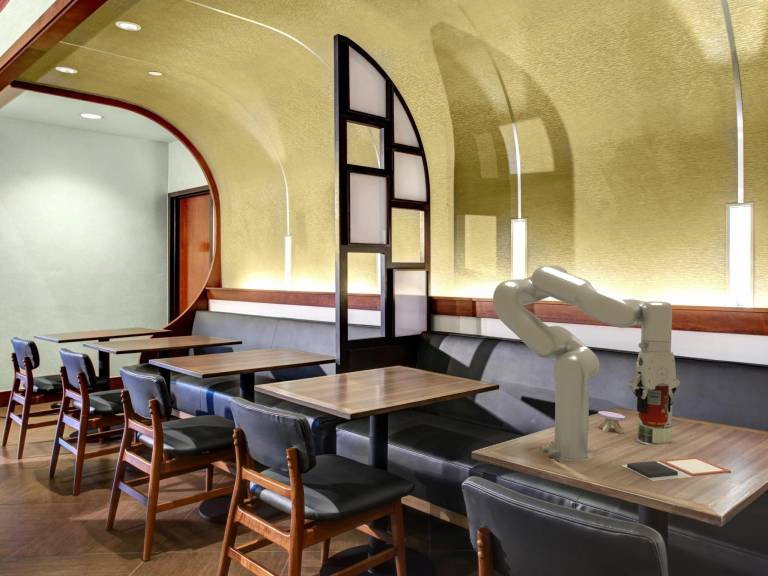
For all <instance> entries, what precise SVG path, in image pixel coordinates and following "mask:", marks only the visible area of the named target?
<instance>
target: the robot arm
mask: <svg viewBox="0 0 768 576" xmlns="http://www.w3.org/2000/svg"><path fill="white" fill-rule="evenodd" d="M549 298H553V299H555V300H557V301H560V302H562V303H564V304H567V305H569V306H571V307H574V308H576V309H577V310H578V311H581V312H582V313H583V314H586V315H587V316H589V317H591V318H593V319H595V320H597V321H599V322H601V323H604V324H607V325H610V326H612V327H615V328H621V329H623V328H628V327H634V326H640V327H641V330H640V331H641V332H640V333H641V334H640V336H641V337H640V343H638V348H639V349H640V351H638V355H637V359H636V365H635V374H634V375H635V376H634V377H633V378H632V380H631V381H630V382H628V387H629V388H630V389H631V391H632V393H633V394H634V396H635V397H636V402H637V403H636V411H637V412H641V413H644V414H646V413H647V399H645V398H646V396H647V393H648V390H654V389H655V386H656V385H658V384H661V383H664V384H668V385H669V399H668V412H670V410H671V400H672V398H673V397H674V394H675V392H676V391H677V388H678V387H679V386H680V384H681V381H680V380H679V379H678V378H677V373H676V372H677V371H676V360H675V356H674V355H675V354H674V352H672V329H673V328H672V326H673V325H672V324H673V306H672V304H671V303H670V302H667V301H657V300H656V301H653V300H652V301H651V300H650V301H644V300H639V299H633V298H632V299H630V298H629V299H620V298H616V297H615V296H611V295H609V294H606V293H604V292H601V291H600V290H598V289H596V288H595V287H594V286H593V285H592V283H591V282H590V281H589V280H586V279H584V278H581V277H579V276H577V275H574V274H571V273H568V271H567V270H566V269H565V268H564V267H562V266H559V265H541V266H539V267H537V268H536V269H535V270H534V271H533V273H532V274H531V276H528V277H526V278H523V279H522V278H520V279H517V278H516V279H508V280H505V281H501V282H500V283H498V285H497V286H496V288H495V290H494V291H493V296H492V304H493V305H492V306H493V309H494V312H495V314H496V316H497V317H498V318H499V320H500V321H501V323H503V325H505V326H506V327H507V328H508V329H509V330H510V331H511V332H512V333H513V334H514V335H515V336H517V338H518V339H520V340H521V342H523V344H525V346H526V347H528V348H529V349H530V350H531V351H532V352H533V353H534V354H535V355H536V356H538V357H539V358H541V359H545V360H546V359H552V358H555V359H556V360H555V361H554V365H553V370H552V371H553V373H552V374H553V380H554V381H553V383H554V393H555V394H554V395H555V397H554V399H555V400H554V401H555V402H554V403H555V405H554V406H555V408H554V409H555V410H554V414H555V415H554V440H553V441H550V442H551V443H550V444H549V445H540V446H539V452H540V453H541V454H542V453H548V455H549V458H550V457H551V458H550V459H552V460H553V459H554V460H553V461H556V460H557V461H556V462H559V460H558V459H560V460H565V461H570V462H571V461H573V462H582V461H583V462H584V461H588V460H592V459H593V458H594V455H593V454H592V453H591V452H589V422H590V421H589V412H590V411H589V409H590V406H589V405H590V403H589V402H590V399H589V398H590V397H589V390H588V389H589V388H588V381H589V380H590V379H592V378H593V379H594V377H595V376H597V375H598V372H599V370H600V361H599V358H598V356H597V355H596V354H595V352H593V350H591V348H590V347H588V346H587V345H586V344H585V343H584V342H582V341H581V340H580V339H579V338H578V337H577V336H576V335H575V334H573V333H572V332H571V331H569V330H568V329H567V328H565V327H563V326H560V325H559V326H558V325H551V326H550V325H548V324H546V323H545V322H544V321H542V320H541V319H540V318H539V317H538V316H537V315H535V314H534V312H532V311H530V310H529V309H527V308H526V307H524V306H529V305H531V304H535V303H538V302H540V301H542V300H544V299H549ZM642 384H643V386H642ZM642 389H644V390H643V392H642ZM556 458H557V459H556Z"/></svg>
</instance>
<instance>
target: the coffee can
mask: <svg viewBox="0 0 768 576" xmlns="http://www.w3.org/2000/svg"><path fill="white" fill-rule="evenodd" d="M673 403H674V400H673V399H671V410H670V412H668V421H667V422H666V424H665V427H663V428H653V427H647V426H644V425H643V424H642V421H641V419H640V412H638V411H637V412H638V413H637V414H638V417H637V419H638V420H637V439H636V440H637V442H638V443H640V444H642V445H645V444H646V445H647V446H654V445H663V444H664V445H665V444H672V427H673V426H672V425H673Z"/></svg>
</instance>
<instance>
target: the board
mask: <svg viewBox="0 0 768 576" xmlns="http://www.w3.org/2000/svg"><path fill="white" fill-rule="evenodd" d="M657 462H658V463H660V464H662V465H664V466H667V467H669V468H671V469H673V470H676V471H678V475H675V476H665V477H655V478H648V477H646V476H644V475H642V474H640V473H638V472H636V471H634V470H632V469H630V468H628V467H627V464H621V466H622V467H623V468H625V469H628V470H629V471H631V472H634V473H636V474H638V475H640V476H642V477H643V478H646V479H648V480H650V481H652V482H655V481H665V480H666V481H667V480H674V479H675V480H677V479H685V478H694V477H695V478H696V477H698V476H691V475H688V474H686V473H684V472H681V471H679V470H677V469H675V468H672V467H670V466H668V465H666V464H663V463H661V462H660V461H657ZM724 474H727V473H721V474H720V475H724ZM713 475H717V474H711V475H710V476H713ZM705 476H707V475H701V476H700V477H705Z"/></svg>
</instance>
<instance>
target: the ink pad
mask: <svg viewBox="0 0 768 576" xmlns="http://www.w3.org/2000/svg"><path fill="white" fill-rule="evenodd" d="M658 462H659V461H655V460H652V461H644V462H643V461H641V462H631V463H626V465H627V467H628V468H630V469H632V470H634V471H636V472H638V473H640V474H642V475H644V476H646V477H648V478H655V477H665V476H675V475H678V471H676V470H673V469H671V468H669V467H667V466H664V465H662V464H660V463H658ZM628 468H627V469H628ZM630 469H629V470H630ZM632 470H631V471H632ZM634 471H633V472H634ZM636 472H635V473H636ZM638 473H637V474H638ZM640 474H639V475H640ZM642 475H641V476H642ZM644 476H643V477H644ZM646 477H645V478H646ZM648 478H647V479H648Z"/></svg>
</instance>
